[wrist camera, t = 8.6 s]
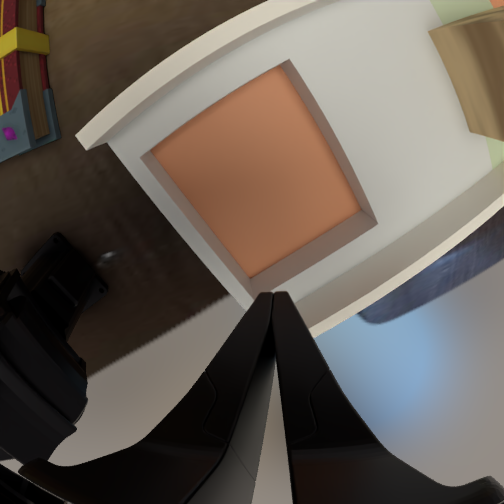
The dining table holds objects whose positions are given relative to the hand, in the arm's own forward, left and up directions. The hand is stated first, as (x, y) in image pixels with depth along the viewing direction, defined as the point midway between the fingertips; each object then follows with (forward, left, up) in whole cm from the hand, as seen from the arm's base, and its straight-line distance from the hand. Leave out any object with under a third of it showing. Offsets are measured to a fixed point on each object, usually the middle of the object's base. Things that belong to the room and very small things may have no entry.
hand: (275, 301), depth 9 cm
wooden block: (+23, 0, -10) cm, 25 cm away
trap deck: (+16, 0, -13) cm, 20 cm away
